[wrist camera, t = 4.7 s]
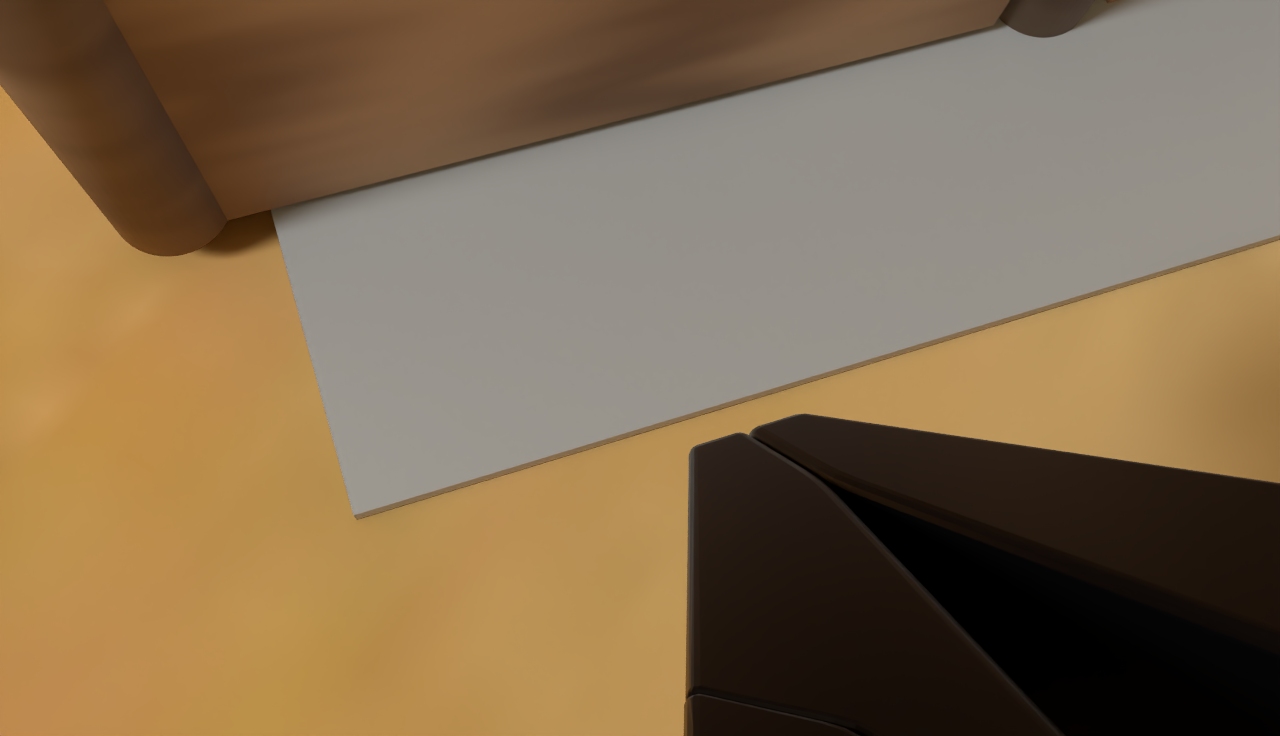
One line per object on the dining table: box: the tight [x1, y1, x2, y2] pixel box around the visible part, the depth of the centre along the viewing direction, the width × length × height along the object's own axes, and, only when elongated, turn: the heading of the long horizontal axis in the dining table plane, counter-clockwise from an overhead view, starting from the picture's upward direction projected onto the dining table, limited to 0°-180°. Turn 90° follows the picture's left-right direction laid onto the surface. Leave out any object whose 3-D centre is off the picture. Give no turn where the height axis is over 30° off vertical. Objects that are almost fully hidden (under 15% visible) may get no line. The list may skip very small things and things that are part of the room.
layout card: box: [271, 0, 1280, 519], centre depth 23 cm, size 12×25×1 cm, turn 108°
